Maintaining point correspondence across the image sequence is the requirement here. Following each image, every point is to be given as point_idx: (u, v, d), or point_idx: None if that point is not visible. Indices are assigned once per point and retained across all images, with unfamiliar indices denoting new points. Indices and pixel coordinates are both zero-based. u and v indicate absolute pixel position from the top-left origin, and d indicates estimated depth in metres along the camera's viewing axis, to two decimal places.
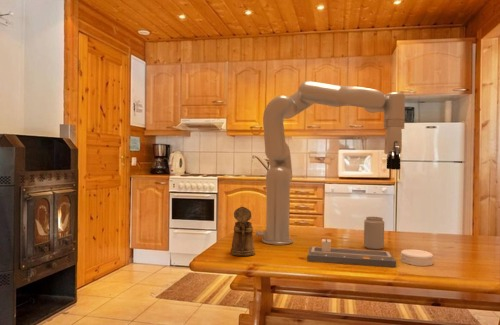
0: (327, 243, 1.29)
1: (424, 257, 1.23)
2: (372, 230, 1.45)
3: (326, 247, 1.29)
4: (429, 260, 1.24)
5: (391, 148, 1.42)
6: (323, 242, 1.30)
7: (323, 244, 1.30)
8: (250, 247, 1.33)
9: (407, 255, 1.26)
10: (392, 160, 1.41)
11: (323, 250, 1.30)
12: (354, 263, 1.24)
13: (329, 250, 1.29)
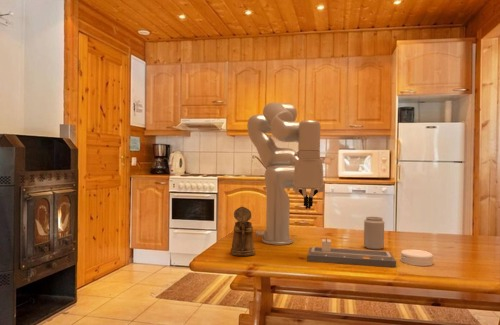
0: (327, 243, 1.29)
1: (424, 257, 1.23)
2: (372, 230, 1.45)
3: (326, 247, 1.29)
4: (429, 260, 1.24)
5: None
6: (323, 242, 1.30)
7: (323, 244, 1.30)
8: (250, 247, 1.33)
9: (407, 255, 1.26)
10: (310, 199, 1.31)
11: (323, 250, 1.30)
12: (354, 263, 1.24)
13: (329, 250, 1.29)
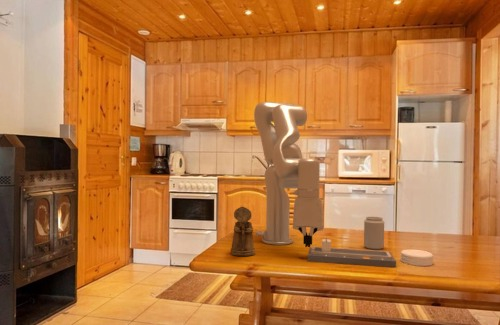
0: (327, 243, 1.29)
1: (424, 257, 1.23)
2: (372, 230, 1.45)
3: (326, 247, 1.29)
4: (429, 260, 1.24)
5: (322, 221, 1.30)
6: (323, 242, 1.30)
7: (323, 244, 1.30)
8: (250, 247, 1.33)
9: (407, 255, 1.26)
10: (310, 237, 1.31)
11: (323, 250, 1.30)
12: (354, 263, 1.24)
13: (329, 250, 1.29)
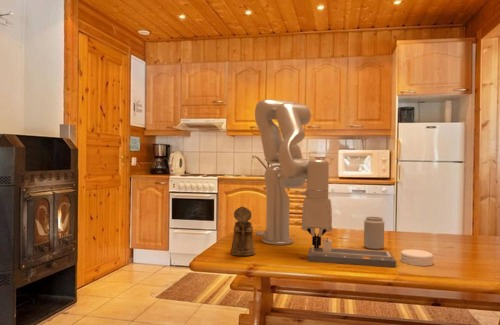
0: (328, 243, 1.29)
1: (424, 257, 1.23)
2: (372, 230, 1.45)
3: (327, 247, 1.29)
4: (429, 260, 1.24)
5: (331, 223, 1.29)
6: (324, 242, 1.30)
7: (324, 244, 1.30)
8: (250, 247, 1.33)
9: (407, 255, 1.26)
10: (318, 238, 1.31)
11: (324, 250, 1.30)
12: (354, 263, 1.24)
13: (330, 250, 1.29)
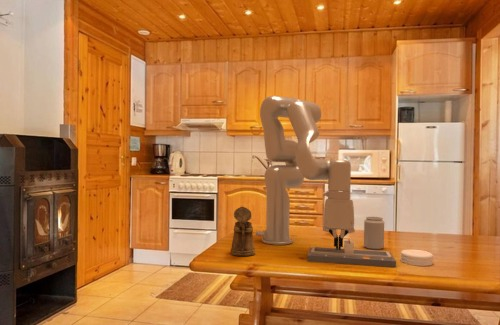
0: (350, 244, 1.28)
1: (424, 257, 1.23)
2: (372, 230, 1.45)
3: (349, 248, 1.28)
4: (429, 260, 1.24)
5: None
6: (346, 243, 1.28)
7: (346, 245, 1.28)
8: (250, 247, 1.33)
9: (407, 255, 1.26)
10: (340, 240, 1.29)
11: (346, 251, 1.28)
12: (354, 263, 1.24)
13: (352, 251, 1.28)
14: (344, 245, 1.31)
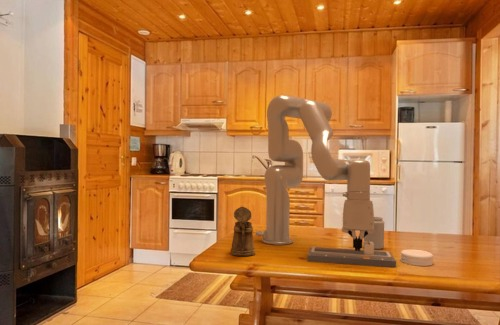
0: (370, 246, 1.26)
1: (424, 257, 1.23)
2: None
3: (369, 250, 1.26)
4: (429, 260, 1.24)
5: (373, 225, 1.26)
6: (366, 245, 1.27)
7: (366, 247, 1.27)
8: (250, 247, 1.33)
9: (407, 255, 1.26)
10: (360, 241, 1.28)
11: (366, 253, 1.27)
12: (354, 263, 1.24)
13: (372, 253, 1.26)
14: None
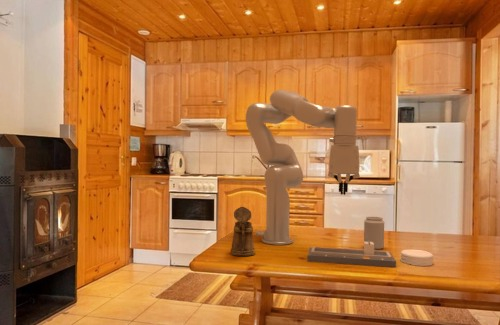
0: (370, 246, 1.26)
1: (424, 257, 1.23)
2: (372, 230, 1.45)
3: (369, 250, 1.26)
4: (429, 260, 1.24)
5: None
6: (366, 245, 1.27)
7: (366, 247, 1.27)
8: (250, 247, 1.33)
9: (407, 255, 1.26)
10: (345, 185, 1.30)
11: (366, 253, 1.27)
12: (354, 263, 1.24)
13: (372, 253, 1.26)
14: None
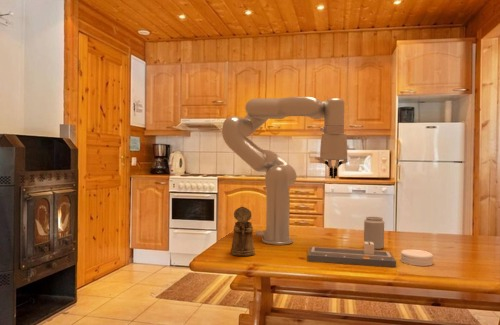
0: (370, 246, 1.26)
1: (424, 257, 1.23)
2: (372, 230, 1.45)
3: (369, 250, 1.26)
4: (429, 260, 1.24)
5: None
6: (366, 245, 1.27)
7: (366, 247, 1.27)
8: (250, 247, 1.33)
9: (407, 255, 1.26)
10: (335, 169, 1.45)
11: (366, 253, 1.27)
12: (354, 263, 1.24)
13: (372, 253, 1.26)
14: None
